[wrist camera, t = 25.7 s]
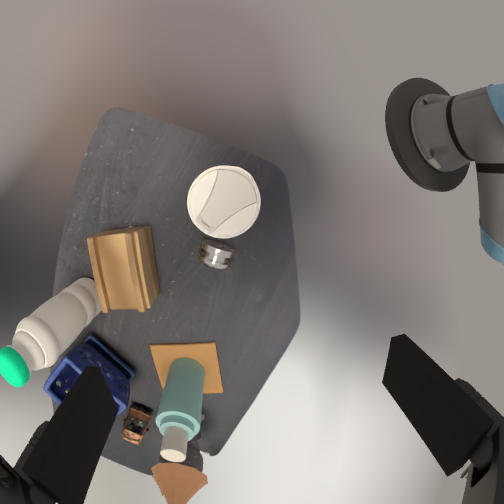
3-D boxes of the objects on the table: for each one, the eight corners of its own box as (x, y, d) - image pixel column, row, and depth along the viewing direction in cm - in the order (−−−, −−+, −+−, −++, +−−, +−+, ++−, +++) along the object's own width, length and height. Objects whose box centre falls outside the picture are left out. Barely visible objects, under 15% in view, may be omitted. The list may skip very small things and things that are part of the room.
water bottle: (109, 285, 42) (26, 367, 17) (102, 319, 43) (32, 407, 19) (77, 270, 40) (-17, 333, 16) (72, 303, 42) (-8, 377, 17)
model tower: (155, 415, 49) (130, 529, 20) (179, 391, 48) (159, 523, 18) (191, 434, 51) (183, 544, 22) (218, 411, 50) (220, 537, 20)
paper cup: (228, 233, 42) (228, 255, 28) (189, 202, 40) (170, 208, 26) (261, 194, 41) (278, 197, 27) (222, 162, 39) (220, 147, 25)
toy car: (123, 427, 49) (117, 447, 43) (126, 397, 47) (117, 419, 41) (148, 435, 50) (143, 456, 44) (154, 407, 48) (148, 429, 42)
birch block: (150, 225, 40) (134, 233, 33) (160, 291, 43) (148, 311, 35) (106, 230, 40) (84, 239, 32) (117, 294, 42) (99, 312, 35)
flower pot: (92, 323, 43) (63, 355, 31) (144, 369, 46) (128, 409, 34) (66, 357, 44) (40, 389, 32) (112, 397, 47) (95, 434, 35)
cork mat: (215, 341, 46) (215, 343, 45) (223, 390, 48) (223, 392, 48) (150, 343, 45) (149, 345, 44) (164, 392, 47) (164, 393, 47)
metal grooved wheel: (235, 247, 42) (235, 254, 37) (228, 264, 43) (228, 274, 38) (204, 237, 41) (201, 243, 36) (198, 254, 42) (194, 263, 37)
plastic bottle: (202, 468, 27) (191, 443, 26) (157, 466, 27) (141, 440, 25) (207, 383, 47) (201, 356, 45) (174, 384, 46) (166, 357, 45)
